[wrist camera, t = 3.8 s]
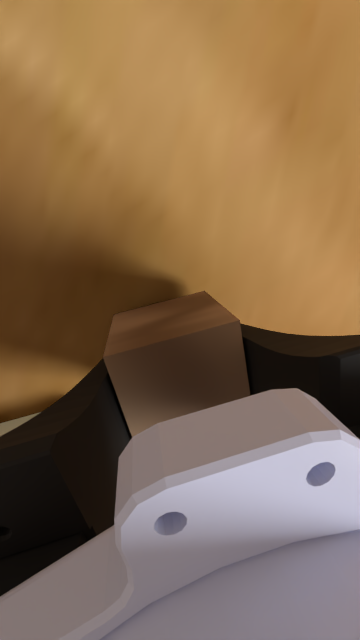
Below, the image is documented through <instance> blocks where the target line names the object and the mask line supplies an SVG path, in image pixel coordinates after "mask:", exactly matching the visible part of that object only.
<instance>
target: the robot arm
mask: <svg viewBox="0 0 360 640" xmlns="http://www.w3.org/2000/svg"><path fill="white" fill-rule="evenodd" d="M240 326H241V333H242V340H243V347H244V354H245V361H246V368H247V375H248V382H249V389H250V396H248V397H245V398H241V399H238V400H234V401H231V402H228V403H224V404H221V405H217V406H214V407H211V408H207V409H204V410H200V411H197V412H194V413H190V414H187V415H184V416H180V417H177V418H173V419H170V420H167V421H163V422H160V423H157V424H155V425H153V426H152V427H150V428H148V429H146V430H144V431H142V432H141V433H139V434H137V435H135V436H133V437H132V435H131V433H130V430H129V427H128V424H127V422H126V419H125V416H124V413H123V411H122V408H121V405H120V403H119V400H118V397H117V394H116V392H115V389H114V386H113V383H112V381H111V378H110V375H109V373H108V370H107V367H106V364H105V362H104V359H102V360H101V361H100V362H99V363H98V364H97V365H96V366H95V367H94V368H93V369H92V370H91V371H90V372H89V373H88V374H87V375H86V376H85V377H84V378H83V379H82V380H81V381H80V382H79V383H78V384H77V385H76V386H75V387H74V388H73V389H72V390H70V391H69V392H68V393H67V394H66V395H64V396H63V397H62V398H61V399H59V400H58V401H57V402H55V403H54V404H53V405H51V406H50V407H48V408H47V409H45V410H44V411H42V412H41V413H39V414H38V415H36V416H35V417H33V418H32V419H30V420H28V421H27V422H25V423H23V424H22V425H20V426H18V427H16V428H15V429H13V430H11V431H9V432H7V433H5V434H3V435H2V436H0V640H360V335H348V336H306V335H295V334H286V333H280V332H274V331H269V330H264V329H260V328H256V327H252V326H248V325H244V324H240Z"/></svg>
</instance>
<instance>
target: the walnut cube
mask: <svg viewBox="0 0 360 640" xmlns="http://www.w3.org/2000/svg"><path fill="white" fill-rule="evenodd" d="M103 359H104V362H105V364H106V367H107V370H108V373H109V375H110V378H111V381H112V383H113V386H114V389H115V392H116V394H117V397H118V400H119V403H120V405H121V408H122V411H123V413H124V416H125V419H126V422H127V424H128V427H129V430H130V433H131V435H132V437H133V436H135V435H137V434H139V433H141V432H142V431H144V430H146V429H148V428H150V427H152V426H153V425H155V424H157V423H160V422H163V421H167V420H170V419H173V418H177V417H180V416H184V415H187V414H190V413H194V412H197V411H200V410H204V409H207V408H211V407H214V406H217V405H221V404H224V403H228V402H231V401H234V400H238V399H241V398H245V397H248V396H250V389H249V382H248V375H247V368H246V361H245V354H244V347H243V340H242V333H241V326H240V320H239V319H238V318H236V317H235V316H234V315H233V314H232V313H230V312H229V311H228V310H227V309H226V308H224V307H223V306H222V305H221V304H220V303H218V302H217V301H216V300H215V299H214V298H212V297H211V296H210V295H209V294H208V293H206V292H205V291H202V292H198V293H195V294H191V295H187V296H183V297H179V298H175V299H171V300H167V301H164V302H160V303H156V304H152V305H148V306H144V307H140V308H136V309H132V310H129V311H125V312H121V313H117V314H114V315H113V319H112V323H111V327H110V331H109V335H108V339H107V343H106V347H105V351H104V355H103Z"/></svg>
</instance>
